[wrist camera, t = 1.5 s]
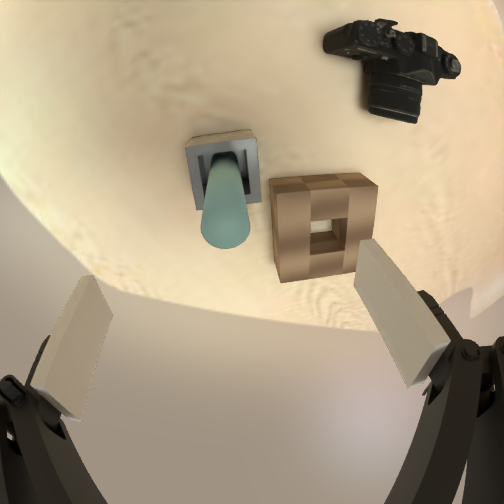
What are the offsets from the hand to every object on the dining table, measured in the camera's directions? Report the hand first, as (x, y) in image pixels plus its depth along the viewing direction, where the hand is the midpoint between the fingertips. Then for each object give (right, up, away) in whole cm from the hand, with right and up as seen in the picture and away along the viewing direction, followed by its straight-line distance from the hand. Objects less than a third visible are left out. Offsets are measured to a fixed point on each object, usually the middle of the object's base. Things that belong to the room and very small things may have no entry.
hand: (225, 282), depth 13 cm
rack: (+10, +6, +23) cm, 26 cm away
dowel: (-2, +12, +17) cm, 21 cm away
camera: (+16, +23, +13) cm, 31 cm away
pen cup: (-2, +12, +18) cm, 22 cm away
